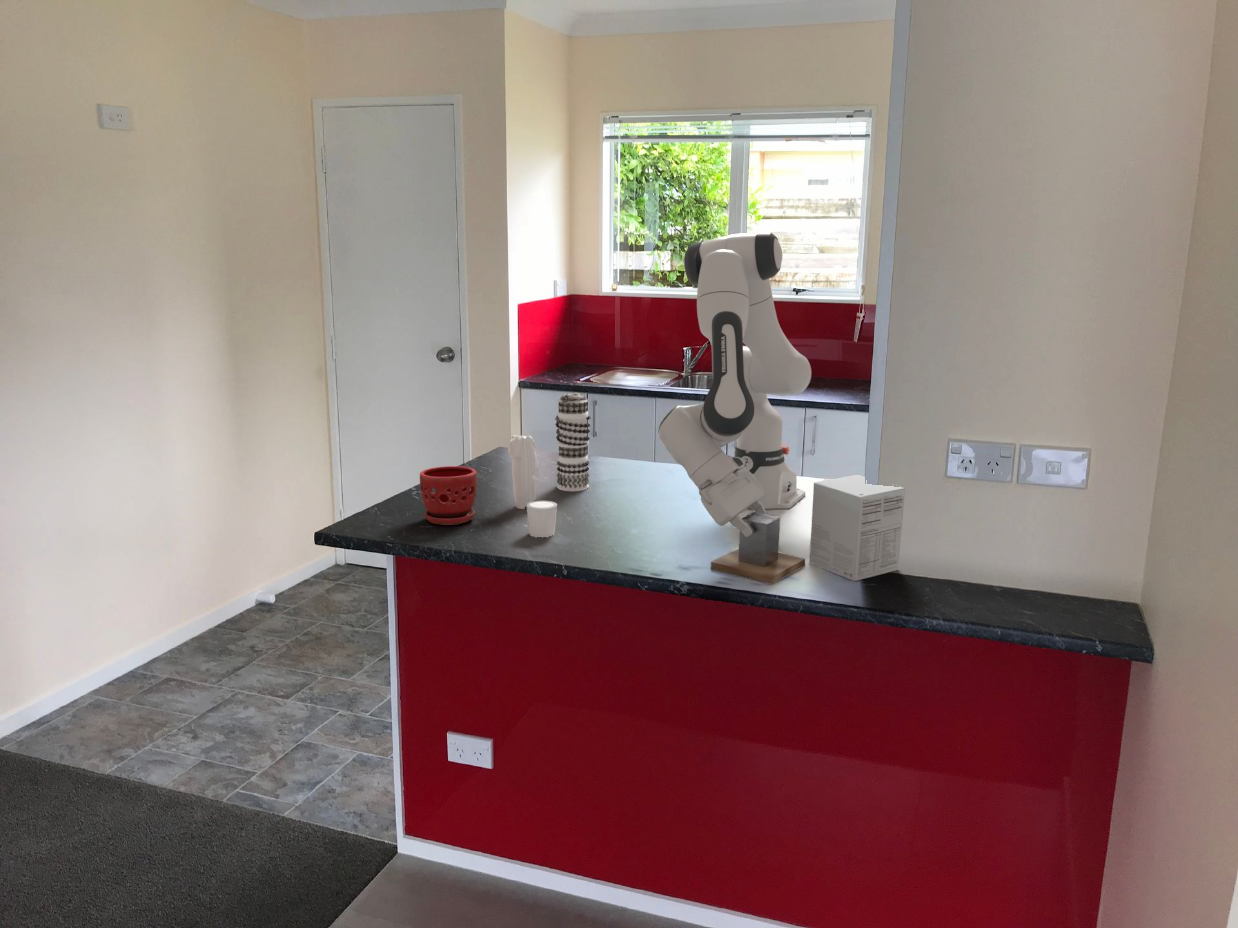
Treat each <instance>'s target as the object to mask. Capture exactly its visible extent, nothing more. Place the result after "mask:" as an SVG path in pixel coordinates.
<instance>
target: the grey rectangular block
mask: <svg viewBox="0 0 1238 928" xmlns="http://www.w3.org/2000/svg"><path fill="white" fill-rule="evenodd" d="M742 520H743V521H744V522H745V523H746V524H748V525H749V524H750V525H751V526H752V528H753V529H754V532H753V533H752V534H751V535H749V536H748V537H746V536H745V535H744V534H743V533H742V532H741V531H740V530H739V534H738V535H739V536H738V538H739V539H738V540H739V541H738V542H739V543H738V549H739V558H738V561H740V562H744V563H749V564H753V565H758V566H762V567H766V566H768V565H769V564H771V563H773V562H774V561H776V560H777V559H778V552H779V550H780V531H781V530H780V529H781V516H776V515H771V514H768V515H766V514H761V513H756V512H755V511H754V512H751V513H749V514H747V515H745V516H744V517H743V516H742ZM779 553H780V552H779Z"/></svg>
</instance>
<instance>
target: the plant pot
mask: <svg viewBox="0 0 1238 928" xmlns="http://www.w3.org/2000/svg"><path fill="white" fill-rule="evenodd" d="M477 482H478V477H477V471H476V469H474V468H471V467H467V466H458V465H457V466H456V465H453V466H450V465H448V466H437V467H435V466H434V467H431V468H427V469H424V470H422V471H420V473H419V486H420V493H421V499H422V502H423V505H424V507H425V508H426V510H427V511H425V512H424V518H425V519H426V520H427V521H428V522H429V523H432V524H435V525H441V526H443V525H444V526H453V525H454V526H458V525H460V524H464V523H467V522H469V521H471V520H472V519H473V517H474V516H475V513H476V512H475V511H476V510H474V509H473V506H474V503H475V499H476V496H477V490H478V489H477ZM432 489H434V491H435V492H433V491H432Z"/></svg>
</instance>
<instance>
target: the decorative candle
mask: <svg viewBox="0 0 1238 928" xmlns="http://www.w3.org/2000/svg"><path fill="white" fill-rule="evenodd" d="M557 402H558V411H557V415H556V416H555V418H554V420H555V421H556V423H555V427H556V428H557V429H556V432H555V433H556V437H555V438H556V441H557V442H556V445H557V446H558V455H557V462H556V464H557V466H558V467H557V468H556V470H557V474H556V477H557V479H556V483H557V489H558V490H560V491H565V492H582V491H585V489H586V490H588V489H589V488H588V487H590V485H589V483H590V480H589V478H590V474H589V472H588V471H589V470H590V468H589V465H590V462H589V457H588V456H589V455H588V447H589V444H590V442H589V440H590V436H588V434H589V433H590V432H591V431H590V429H589V427H591V424H590V423H588V421H589V420H590V419H591V418H592V417H591V416H590V415H589V411H588V402H589V399H588V398H587V397H586V396H585V394H583V393H580V392H579V393H577V392H567V393H564V394H562V395H561V397H560V398H558V399H557ZM587 488H588V489H587Z"/></svg>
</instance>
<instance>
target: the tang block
mask: <svg viewBox="0 0 1238 928" xmlns="http://www.w3.org/2000/svg"><path fill="white" fill-rule="evenodd" d="M738 558H739V548H737V549H735V550H733V551H730V552H729V553H726V554H723V555H722V556H719V557H718V558H716V559H714V560H711V561H710V569H711V570H715V571H718V572H722V573H725V574H730V575H733V576H736V577H737V576H738V577H742V578H746V579H749V580H753V581H756V582H760V583H765V584H769V585H772V584H774V583H777V582H778V581H780V580H782V579H783V578H785V577H787V576H789V575H790V574H793V573H794V572H796V571H798V570H800V569H801V568H803V567H805V565H806V558H805V557H804V558H803V557H800V556H795V555H791V554H787V553H783V552H778V559H777V560H776V561H774V562H773V563H771V564H769V565H768V566H766V567H762V566H758V565H753V564H749V563H744V562H740V561H738Z"/></svg>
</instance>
